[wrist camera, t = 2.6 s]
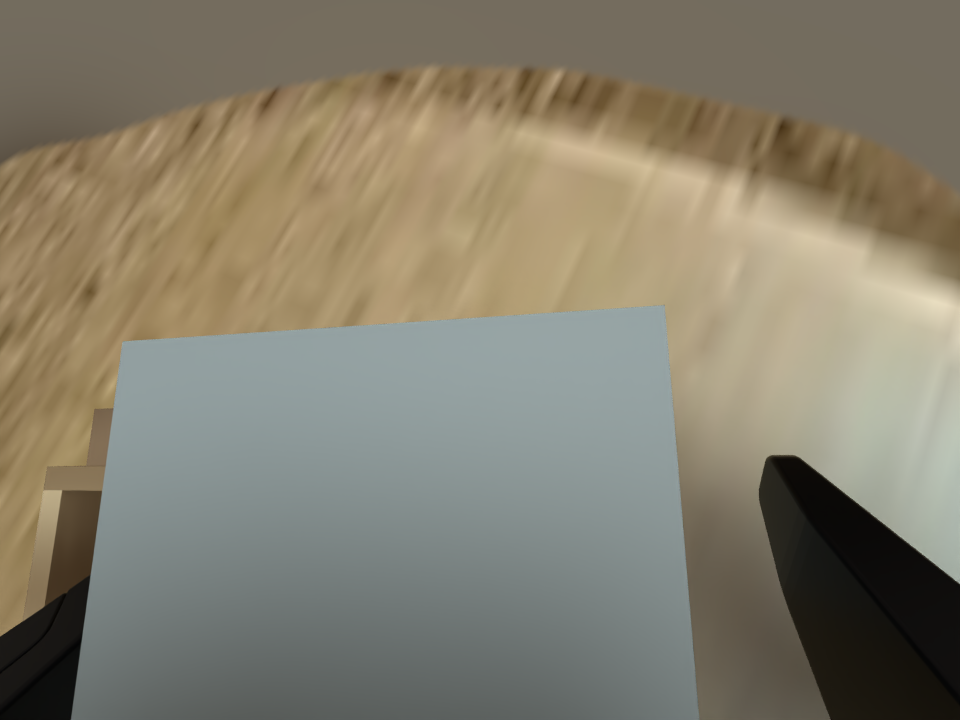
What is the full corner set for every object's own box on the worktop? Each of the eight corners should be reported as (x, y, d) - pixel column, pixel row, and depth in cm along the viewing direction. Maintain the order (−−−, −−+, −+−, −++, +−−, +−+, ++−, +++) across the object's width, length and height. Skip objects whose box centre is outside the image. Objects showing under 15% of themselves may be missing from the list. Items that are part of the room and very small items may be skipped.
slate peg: (611, 571, 15) (737, 1147, 2) (470, 566, 16) (36, 968, 3) (603, 425, 16) (663, 305, 3) (469, 428, 17) (123, 341, 4)
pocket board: (393, 796, 15) (326, 912, 11) (72, 751, 17) (-73, 834, 14) (402, 402, 17) (349, 386, 14) (118, 411, 20) (5, 400, 16)
